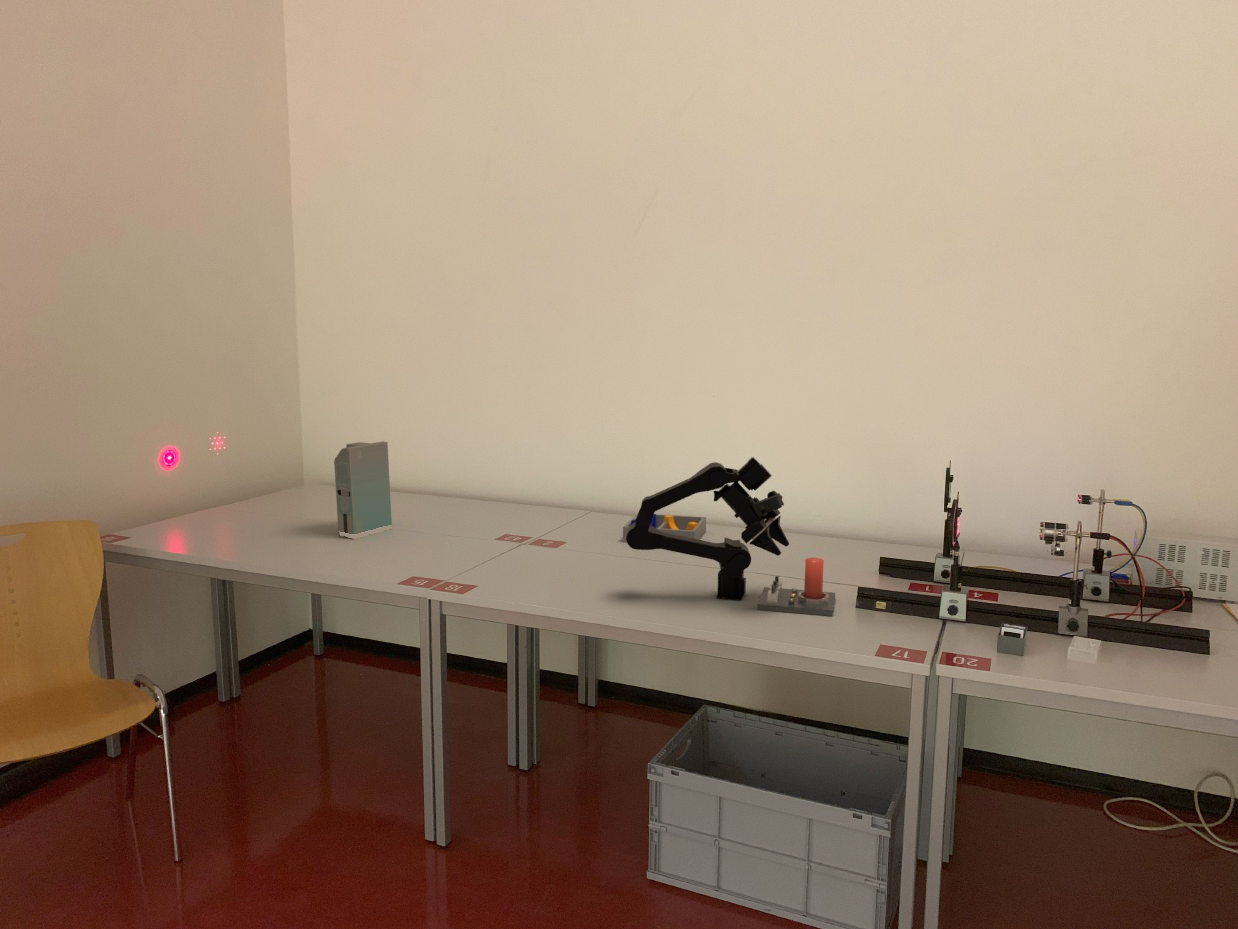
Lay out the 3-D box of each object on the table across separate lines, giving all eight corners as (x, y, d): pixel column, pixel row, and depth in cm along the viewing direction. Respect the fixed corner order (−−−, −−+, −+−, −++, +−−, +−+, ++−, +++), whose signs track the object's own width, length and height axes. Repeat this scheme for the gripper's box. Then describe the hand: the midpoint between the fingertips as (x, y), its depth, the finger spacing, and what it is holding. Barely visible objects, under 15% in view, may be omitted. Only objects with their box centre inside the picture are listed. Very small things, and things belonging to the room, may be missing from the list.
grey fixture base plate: (757, 609, 219) (757, 588, 218) (764, 592, 232) (764, 572, 231) (832, 616, 214) (833, 594, 213) (835, 598, 227) (835, 577, 226)
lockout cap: (803, 601, 220) (804, 561, 219) (804, 595, 224) (806, 557, 223) (821, 602, 219) (823, 563, 217) (822, 597, 223) (824, 558, 222)
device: (376, 526, 307) (371, 440, 302) (392, 529, 303) (387, 441, 298) (338, 536, 293) (332, 446, 288) (354, 539, 289) (349, 448, 284)
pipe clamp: (699, 541, 286) (701, 522, 285) (691, 544, 283) (692, 524, 282) (670, 533, 294) (672, 514, 293) (662, 535, 291) (663, 516, 290)
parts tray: (623, 542, 284) (623, 526, 283) (639, 527, 303) (639, 513, 302) (694, 547, 277) (694, 531, 277) (706, 531, 296) (706, 517, 296)
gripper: (755, 489, 213) (800, 538, 211) (773, 476, 230) (814, 521, 228) (722, 518, 218) (766, 567, 215) (742, 503, 235) (783, 548, 232)
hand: (784, 549), depth 222 cm, fingers open, 9 cm apart
